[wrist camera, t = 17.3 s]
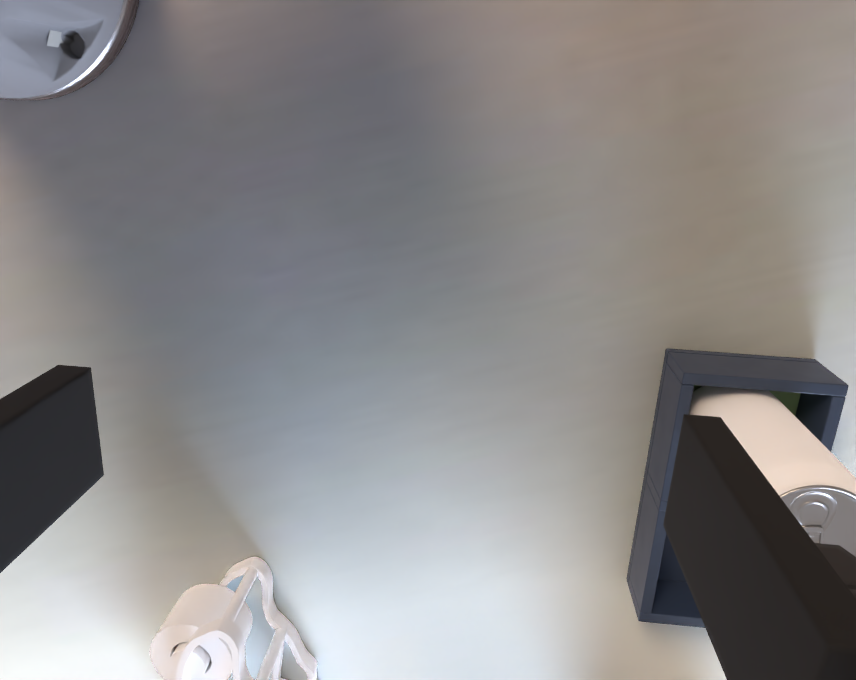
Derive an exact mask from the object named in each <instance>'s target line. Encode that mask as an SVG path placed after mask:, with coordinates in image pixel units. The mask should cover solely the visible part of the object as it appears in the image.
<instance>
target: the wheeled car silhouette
mask: <svg viewBox="0 0 856 680" xmlns="http://www.w3.org/2000/svg"><path fill="white" fill-rule="evenodd" d="M244 574H245V575H244ZM242 575H244V577H243V579H242V581H241V582H240V584H239V586H238V588H237V590H236V592H234V591H232V590H230V589H229V588H226V587H227V585H228V584H229V583H230V582H231V581H232V580H233V579H235V578H237V577H239V576H242ZM256 577H257V578H258V579H259V581H260V583H261V586H262V607H263V612H264V615H265V618H266V620H267V622H268V623H269V625H270V626H271V627H272V628H274V629H275V630H276V631H275V634H274V636H273V639H272V641H271V644H270V646H269V648H268V651H267V653H266V656H265V658H264V660H263V663H262V665H261V668H260V670H259V673H258V675H257V677H256V680H269V677H270V675H271V672H272V675H271V680H287V679H283V678H281V668H282V660H283V650H284V639H285V641H286V642H287V644H288V646H289V647H290V649H291V652H292V654H293V656H294V658H295V660H296V662H297V663H298V665H299V666H300V667H301V668H302V669H303V670H304V671H305V672H306V673H307V680H318V679H317V665H318V663H317V661H316V659H315V658H314V657H313V656H312V655H311V654H310V653H309V652H308V651H307V649H306V648H305V646H304V644H303V642H302V640H301V637H300V635H299V633H298V631H297V630H296V628H295V627H294V625H293V624H292V623H291V622H290V621H289V620H288V619H287V618H286V617H285V616H284V615H283V614H282V613H281V612H280V611H279V610H278V609H277V607H276V605H275V602H274V598H273V575H272V572H271V570H270V567H269V566H268V564H267V563H266V562H265V561H264V560H262V559H261V558H259V557H255V556H253V557H250V558H247V559H245V560H243V561H240V562H238V563H236V564H234V565H233V566H232V567H231V568H230V569H229V570H228V571H227V573H226V574H225V576H224V578H223V580H222V581H221V583H220V585H217V584H200V585H196V586H192V587H191V588H189V589H188V590H186V591H184V592H183V594H182V595H181V596H180V598H179V599H178V601H177V602H176V604H175V605H174V607H173V609H172V610H171V612H170V613H169V615H168V616H167V618H166V620H165V621H164V623H163V624H162V626H161V627H160V629H159V630H158V632H157V634H156V635H155V637H154V638H153V640H152V642H151V646H150V651H149V652H150V658H151V662H152V664H153V666H154V668H155V670H156V671H157V673H158V674H159V675H160V676H161V677H162V678H163V679H164V680H228V678H229V677H230V675H231V673H233V679H234V680H255V679H254V678H252V677H251V675H250V673H249V671H248V668H247V666H246V660H245V643H246V641H247V638H248V636H249V634H250V631H251V628H252V624H253V621H252V613H251V611H250V609H249V607H248V605H247V603H246V602H245V599H246V597H247V595H248V593H249V591H250V589H251V587H252V585H253V583H254V581H255V579H256Z"/></svg>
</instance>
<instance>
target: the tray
mask: <svg viewBox="0 0 856 680" xmlns="http://www.w3.org/2000/svg"><path fill="white" fill-rule="evenodd" d="M702 386H714V387H727V388H740V389H754V390H767V391H770V392H771V393H772V394H773V395H774V396H775V397H776V398H777V399H778V400H779V401H780V402H781V403H782V404H783V405H784V406H785V407H786V408H787V409H788V410H789V411H790V412H791V413H792V414H793V415H794V416H795V417H796V418H797V419H798V420H799V421H800V422H801V423H802V424H803V425H804V426H805V427H806V428H807V429H808V430H809V431H810V432H811V433H812V434H813V435H814V436H815V437H816V438H817V439H818V440H819V441H820V442H821V443H822V444H823V445H824V446H825V447H826V448H827V449H828V450H829V451H830V452H831V450H832V446H833V442H834V438H835V435H836V431H837V427H838V423H839V420H840V416H841V412H842V409H843V405H844V401H845V396H846V394H847V390H848V385H847V384H846V383H845V382H844V381H842V380H841V379H840V378H838V377H837V376H836V375H835V374H833V373H832V372H831V371H829V370H828V369H827V368H825V367H824V366H823V365H822V364H820V363H819V362H818V361H817V360H815V359H803V358H789V357H775V356H761V355H747V354H734V353H720V352H706V351H692V350H678V349H666V352H665V358H664V364H663V370H662V375H661V381H660V387H659V393H658V399H657V405H656V410H655V416H654V422H653V428H652V434H651V440H650V446H649V451H648V457H647V463H646V469H645V475H644V481H643V486H642V492H641V498H640V504H639V510H638V516H637V522H636V527H635V533H634V539H633V545H632V551H631V557H630V562H629V568H628V574H627V582H628V586H629V589H630V592H631V596H632V599H633V603H634V606H635V610H636V613H637V617H638V620H639V621H642V622H652V623H662V624H672V625H682V626H693V627H703V628H705V625H704V623H703V620H702V618H701V615H700V613H699V611H698V608H697V606H696V603H695V601H694V599H693V596H692V594H691V591H690V589H689V586H688V584H687V582H686V579H685V577H684V574H683V572H682V570H681V567H680V565H679V562H678V560H677V557H676V555H675V553H674V550H673V548H672V545H671V543H670V541H669V538H668V536H667V533H666V531H665V528H664V526H663V523H664V518H665V512H666V507H667V501H668V496H669V491H670V485H671V480H672V475H673V469H674V464H675V458H676V453H677V448H678V442H679V437H680V432H681V426H682V421H683V415H684V414H688V415H689V410H690V405H691V399H692V394H693V392H694V391H696V390H697V389H698V388H700V387H702Z"/></svg>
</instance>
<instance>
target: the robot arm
mask: <svg viewBox="0 0 856 680" xmlns="http://www.w3.org/2000/svg"><path fill="white" fill-rule="evenodd" d="M138 4H139V0H0V99H8V100H43V99H51V98H55V97H59V96H63V95H66V94H69V93H71V92H74V91H76V90H78V89H80V88H82V87H84V86H85V85H87V84H88V83H90V82H91V81H93V80H94V79H95V78H97V77H98V76H99V75H100V74H101V73H102V72H103V71H104V70H105V69H106V68H107V67H108V66H109V65H110V64H111V63H112V62H113V60H114V59H115V58H116V56H117V55H118V54H119V52H120V50H121V49H122V47H123V45H124V43H125V42H126V40H127V37H128V35H129V33H130V31H131V28H132V25H133V22H134V20H135V17H136V12H137V8H138ZM103 475H104V472H103V464H102V456H101V448H100V439H99V431H98V423H97V415H96V407H95V398H94V390H93V382H92V374H91V368H90V367H77V366H65V365H57V366H56V367H54V368H52V369H51V370H49V371H47V372H46V373H44V374H42V375H40V376H39V377H37V378H35V379H34V380H32V381H30V382H29V383H27V384H25V385H24V386H22V387H20V388H19V389H17V390H15V391H13V392H12V393H10V394H8V395H7V396H5V397H3V398H2V399H0V573H1V572H2V571H3V570H4V569H5V568H6V567H7V566H8V565H9V564H10V563H11V562H12V561H13V560H15V559H16V558H17V557H18V556H19V555H20V554H21V553H22V552H23V551H24V550H25V549H26V548H27V547H28V546H29V545H30V544H31V543H32V542H34V541H35V540H36V539H37V538H38V537H39V536H40V535H41V534H42V533H43V532H44V531H45V530H46V529H47V528H48V527H49V526H50V525H52V524H53V523H54V522H55V521H56V520H57V519H58V518H59V517H60V516H61V515H62V514H63V513H64V512H65V511H66V510H67V509H68V508H69V507H71V506H72V505H73V504H74V503H75V502H76V501H77V500H78V499H79V498H80V497H81V496H82V495H83V494H84V493H85V492H86V491H87V490H89V489H90V488H91V487H92V486H93V485H94V484H95V483H96V482H97V481H98V480H99V479H100V478H101V477H102V476H103ZM663 526H664V528H665V531H666V533H667V536H668V538H669V541H670V543H671V545H672V548H673V550H674V553H675V555H676V557H677V560H678V562H679V565H680V567H681V570H682V572H683V574H684V577H685V579H686V582H687V584H688V586H689V589H690V591H691V594H692V596H693V599H694V601H695V603H696V606H697V608H698V611H699V613H700V615H701V618H702V620H703V623H704V625H705V628H706V630H707V632H708V635H709V637H710V640H711V642H712V644H713V647H714V649H715V652H716V654H717V656H718V659H719V661H720V664H721V666H722V669H723V671H724V673H725V676H726V678H727V680H856V557H855V556H854V555H852V554H851V553H850V552H848V551H847V550H845V549H844V548H843V547H841V546H840V545H832V544H821V543H814V542H813V540H812V539H811V538H810V536H809V535H808V534H807V532H806V531H805V530H804V528H803V527H802V526H801V524H800V523H799V522H798V520H797V519H796V518H795V516H794V515H793V514H792V512H791V511H790V510H789V508H788V507H787V505H786V504H785V503H784V501H783V500H782V499H781V497H780V496H779V495H778V493H777V492H776V491H775V489H774V488H773V487H772V485H771V484H770V483H769V481H768V480H767V479H766V477H765V476H764V475H763V473H762V472H761V471H760V469H759V468H758V467H757V465H756V464H755V463H754V461H753V460H752V459H751V457H750V456H749V455H748V453H747V452H746V451H745V449H744V448H743V446H742V445H741V444H740V442H739V441H738V440H737V438H736V437H735V436H734V434H733V433H732V432H731V430H730V429H729V428H728V426H727V425H726V424H725V422H724V421H723V420H722V418H721V417H713V416H701V415H688V414H684V415H683V421H682V426H681V432H680V437H679V442H678V448H677V453H676V458H675V464H674V469H673V475H672V480H671V485H670V491H669V496H668V501H667V507H666V512H665V518H664V523H663Z"/></svg>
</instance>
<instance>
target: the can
mask: <svg viewBox="0 0 856 680" xmlns="http://www.w3.org/2000/svg"><path fill="white" fill-rule="evenodd" d="M689 415H701V416H713V417H721V418H722V420H723V421H724V422H725V424H726V425H727V426H728V428H729V429H730V430H731V432H732V433H733V434H734V436H735V437H736V438H737V440H738V441H739V442H740V444H741V445H742V446H743V448H744V449H745V451H746V452H747V453H748V455H749V456H750V457H751V459H752V460H753V461H754V463H755V464H756V465H757V467H758V468H759V469H760V471H761V472H762V473H763V475H764V476H765V477H766V479H767V480H768V481H769V483H770V484H771V485H772V487H773V488H774V489H775V491H776V492H777V493H778V495H779V496H780V497H781V499H782V500H783V501H784V503H785V504H786V505H787V507H788V508H789V510H790V511H791V512H792V514H793V515H794V516H795V518H796V519H797V520H798V522H799V523H800V524H801V526H802V527H803V528H804V530H805V531H806V532H807V534H808V535H809V536H810V538H811V539H812V540H813V542H814V543H821V544H832V545H840V546H841V547H843V548H844V549H845V550H847V551H848V552H850V553H851V554H852V555H854V556H855V557H856V478H855V477H854V476H853V475H852V474H851V473H850V471H849V470H848V469H847V468H846V467H845V466H844V465H843V464H842V463H841V462H840V461H839V460H838V459H837V458H836V457H835V456H834V455H833V454H832V453H831V452H830V451H829V450H828V449H827V448H826V447H825V446H824V445H823V444H822V443H821V442H820V441H819V440H818V439H817V438H816V437H815V436H814V435H813V434H812V433H811V432H810V431H809V430H808V429H807V428H806V427H805V426H804V425H803V424H802V423H801V422H800V421H799V420H798V419H797V418H796V417H795V416H794V415H793V414H792V413H791V412H790V411H789V410H788V409H787V408H786V407H785V406H784V405H783V404H782V403H781V402H780V401H779V400H778V399H777V398H776V397H775V396H774V395H773V394H772V393H771V392H770V391H767V390H754V389H740V388H727V387H714V386H702V387H700V388H698V389H697V390H696V391H694V392H693V394H692V399H691V405H690V410H689Z"/></svg>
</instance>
